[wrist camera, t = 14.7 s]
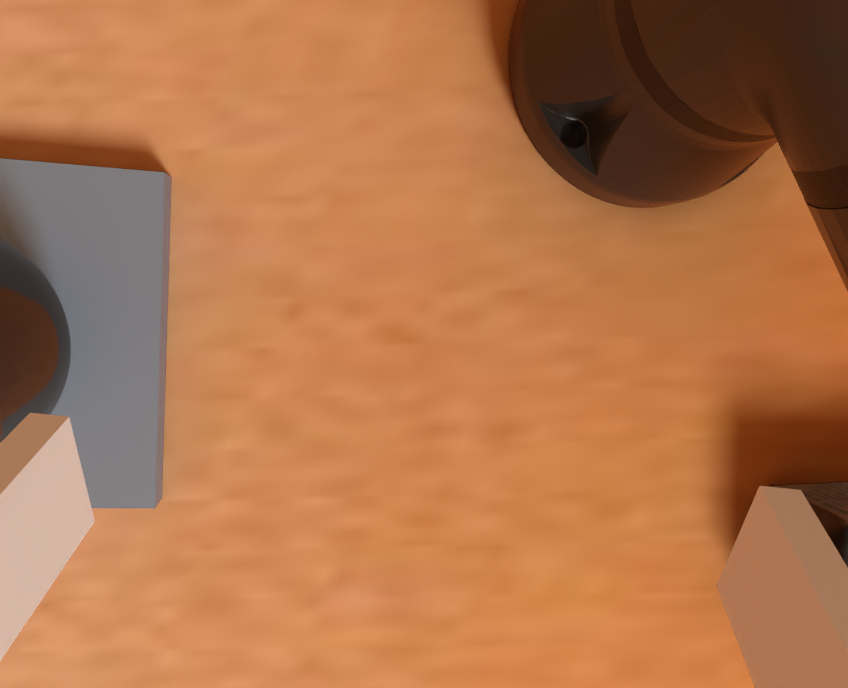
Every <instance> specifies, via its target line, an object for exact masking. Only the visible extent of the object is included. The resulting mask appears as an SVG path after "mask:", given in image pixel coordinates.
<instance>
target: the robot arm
mask: <svg viewBox="0 0 848 688" xmlns="http://www.w3.org/2000/svg"><path fill="white" fill-rule="evenodd" d="M509 74H510V82H511V88H512V93H513V97H514V101H515V105H516V108H517V111H518V114H519V116H520V119H521V121H522V124H523V126H524V128H525V130H526V132H527V134H528V136H529V138H530V139H531V141H532V143H533V144H534V146H535V147H536V149H537V150H538V152H539V153H540V154H541V156H542V157H543V158H544V159H545V161H546V162H547V163H548V164H549V165H550V166H551V167H552V168H553V169H554V170H555V171H556V172H557V173H558V174H559V175H560V176H561V177H563V178H564V179H565V180H566V181H568V182H569V183H570V184H572V185H573V186H575V187H576V188H578V189H579V190H581V191H583V192H585V193H586V194H588V195H591V196H593V197H595V198H597V199H600V200H603V201H605V202H609V203H612V204H616V205H621V206H627V207H640V208H646V207H659V206H665V205H670V204H674V203H679V202H683V201H688V200H691V199H695V198H698V197H701V196H704V195H706V194H709V193H711V192H713V191H715V190H717V189H719V188H721V187H723V186H725V185H726V184H728V183H730V182H731V181H733V180H734V179H736V178H737V177H739V176H740V175H741V174H742V173H744V172H745V171H746V170H747V169H748V168H749V167H750V166H752V165H753V164H754V163H755V162H756V161H757V160H758V159H759V157H760V156H761V155H762V154H763V153H764V152H765V151H767V150H768V149H769V148H770V147H771V146H773V145H774V144H775V143H776V142H777V141H778V143H779V145H780V148H781V150H782V152H783V154H784V156H785V158H786V161H787V163H788V165H789V167H790V168H791V171H792V173H793V175H794V177H795V179H796V181H797V183H798V185H799V188H800V190H801V192H802V194H803V196H804V199H805V202H806V204H807V206H808V208H809V210H810V212H811V214H812V216H813V219H814V221H815V223H816V225H817V227H818V229H819V231H820V233H821V236H822V238H823V240H824V242H825V244H826V246H827V248H828V251H829V253H830V255H831V257H832V259H833V261H834V263H835V265H836V268H837V270H838V272H839V274H840V276H841V278H842V280H843V282H844V285H845V287H846V289H847V291H848V0H520V1H519V4H518V7H517V10H516V13H515V16H514V20H513V24H512V29H511V35H510V43H509ZM94 522H95V520H94V516H93V512H92V508H91V504H90V499H89V495H88V491H87V487H86V483H85V479H84V475H83V471H82V467H81V463H80V459H79V455H78V451H77V446H76V442H75V438H74V434H73V430H72V426H71V422H70V418H69V417H68V416H58V415H48V414H38V413H29V414H28V415H27V416H26V417H25V418H24V419H23V420H22V421H21V422H20V423H19V424H18V426H17V427H16V428H15V429H14V430H13V431H12V432H11V433H10V434H9V435H8V436H7V437H6V438H5V439H4V440H3V441H2V442H1V443H0V661H1V659H2V658H3V656H4V655H5V653H6V652H7V650H8V649H9V647H10V646H11V644H12V643H13V641H14V640H15V639H16V637H17V636H18V634H19V633H20V631H21V630H22V628H23V627H24V625H25V624H26V622H27V621H28V619H29V618H30V616H31V615H32V613H33V612H34V610H35V609H36V607H37V606H38V605H39V603H40V602H41V600H42V599H43V597H44V596H45V594H46V593H47V591H48V590H49V588H50V587H51V585H52V584H53V582H54V581H55V579H56V578H57V576H58V575H59V573H60V572H61V570H62V569H63V568H64V566H65V565H66V563H67V562H68V560H69V559H70V557H71V556H72V554H73V553H74V551H75V550H76V548H77V547H78V545H79V544H80V542H81V541H82V539H83V538H84V536H85V535H86V534H87V532H88V531H89V529H90V528H91V526H92V525H93V523H94ZM717 588H718V591H719V593H720V596H721V599H722V601H723V604H724V607H725V609H726V612H727V615H728V617H729V620H730V623H731V625H732V628H733V631H734V633H735V636H736V639H737V641H738V644H739V646H740V649H741V652H742V654H743V657H744V660H745V662H746V665H747V668H748V670H749V673H750V676H751V678H752V681H753V684H754V686H755V688H848V567H847V566H846V564H845V562H844V561H843V559H842V557H841V556H840V554H839V552H838V551H837V549H836V547H835V546H834V544H833V542H832V541H831V539H830V537H829V536H828V534H827V532H826V531H825V529H824V527H823V526H822V524H821V522H820V521H819V519H818V517H817V516H816V514H815V512H814V511H813V509H812V507H811V506H810V504H809V503H808V501H807V499H806V498H805V496H804V494H803V493H802V491H801V490H797V489H787V488H777V487H767V486H759V488H758V490H757V493H756V495H755V497H754V500H753V502H752V504H751V507H750V509H749V511H748V514H747V516H746V518H745V521H744V523H743V525H742V528H741V530H740V532H739V535H738V537H737V539H736V542H735V544H734V546H733V549H732V551H731V553H730V556H729V558H728V560H727V563H726V565H725V567H724V570H723V572H722V574H721V577H720V579H719V581H718V584H717Z"/></svg>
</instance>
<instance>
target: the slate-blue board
mask: <svg viewBox="0 0 848 688" xmlns="http://www.w3.org/2000/svg"><path fill="white" fill-rule="evenodd" d="M170 205H171V177H170V176H169V175H168V174H166V173H165V172H155V171H143V170H131V169H120V168H108V167H96V166H84V165H73V164H61V163H49V162H37V161H25V160H14V159H2V158H0V238H1V239H3V240H5V241H6V242H8V243H10V244H11V245H13V246H14V247H15V248H17V249H18V250H19V251H21V252H22V253H23V254H24V255H26V256H27V257H28V258H29V259H30V260H31V261H32V262H33V263H34V264H35V265H36V266H37V267H38V268H39V269H40V270H41V272H42V273H43V274H44V275H45V277H46V278H47V279H48V281H49V282H50V284H51V285H52V287H53V288H54V290H55V292H56V294H57V296H58V298H59V300H60V302H61V304H62V306H63V309H64V312H65V315H66V318H67V322H68V326H69V332H70V340H71V359H70V368H69V373H68V377H67V381H66V384H65V387H64V390H63V392H62V395H61V397H60V399H59V401H58V403H57V405H56V407H55V408H54V410H53V411H52V413H51V414H50V415H58V416H68V417H69V418H70V422H71V426H72V430H73V434H74V438H75V442H76V446H77V451H78V455H79V459H80V463H81V467H82V471H83V475H84V479H85V483H86V487H87V491H88V495H89V499H90V504H91V508H156V506H157V505H158V503H159V502H160V500H161V499H162V475H163V441H164V407H165V374H166V340H167V306H168V272H169V239H170Z"/></svg>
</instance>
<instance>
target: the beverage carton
mask: <svg viewBox="0 0 848 688" xmlns="http://www.w3.org/2000/svg"><path fill="white" fill-rule="evenodd" d="M769 487H777V488H787V489H797V490H801V491H802V493H803V494H804V496H805V498H806V499H807V501H808V503H809V504H810V506H811V507H812V509H813V511H814V512H815V514H816V516H817V517H818V519H819V521H820V522H821V524H822V526H823V527H824V529H825V531H826V532H827V534H828V536H829V537H830V539H831V541H832V542H833V544H834V546H835V547H836V549H837V551H838V552H839V554H840V556H841V557H842V559H843V561H844V562H845V564H846V566H847V567H848V482H836V483H816V484H792V485H784V486H772V485H770V486H769Z"/></svg>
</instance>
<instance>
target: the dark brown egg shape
mask: <svg viewBox="0 0 848 688" xmlns="http://www.w3.org/2000/svg"><path fill="white" fill-rule="evenodd" d="M70 359H71V340H70V332H69V326H68V322H67V318H66V315H65V312H64V309H63V306H62V304H61V302H60V300H59V298H58V296H57V294H56V292H55V290H54V288H53V287H52V285H51V284H50V282H49V281H48V279H47V278H46V277H45V275H44V274H43V273H42V272H41V270H40V269H39V268H38V267H37V266H36V265H35V264H34V263H33V262H32V261H31V260H30V259H29V258H28V257H27V256H26V255H24V254H23V253H22V252H21V251H19V250H18V249H17V248H15V247H14V246H13V245H11V244H10V243H8V242H6V241H5V240H3V239H1V238H0V443H1V442H2V441H3V440H4V439H5V438H6V437H7V436H8V435H9V434H10V433H11V432H12V431H13V430H14V429H15V428H16V427H17V426H18V424H19V423H20V422H21V421H22V420H23V419H24V418H25V417H26V416H27V415H28V414H29V413H38V414H48V415H50V414H51V413H52V411H53V410H54V408H55V407H56V405H57V403H58V401H59V399H60V397H61V395H62V392H63V390H64V387H65V384H66V381H67V377H68V373H69V368H70Z"/></svg>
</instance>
